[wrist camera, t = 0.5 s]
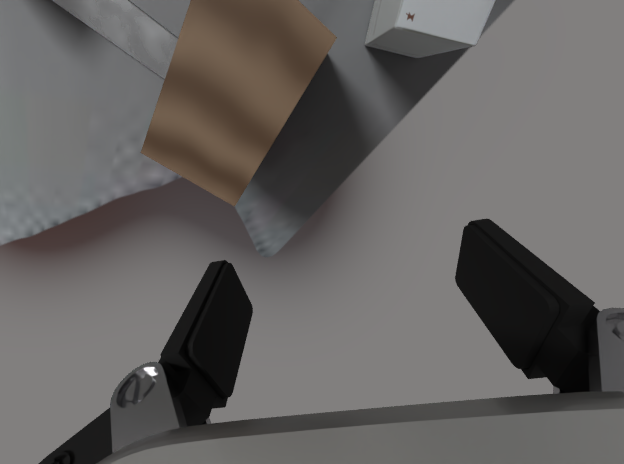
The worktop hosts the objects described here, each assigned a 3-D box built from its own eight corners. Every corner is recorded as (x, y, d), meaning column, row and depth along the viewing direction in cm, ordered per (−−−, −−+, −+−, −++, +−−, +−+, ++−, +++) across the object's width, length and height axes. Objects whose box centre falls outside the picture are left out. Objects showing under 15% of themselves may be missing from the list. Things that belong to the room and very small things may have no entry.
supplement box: (418, 60, 31) (475, 51, 20) (362, 46, 30) (391, 28, 19) (447, -20, 27) (537, -85, 16) (383, -39, 26) (433, -120, 15)
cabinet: (256, -12, 27) (216, -78, 16) (327, 52, 30) (337, 37, 19) (194, 133, 35) (138, 159, 24) (255, 172, 38) (231, 211, 27)
